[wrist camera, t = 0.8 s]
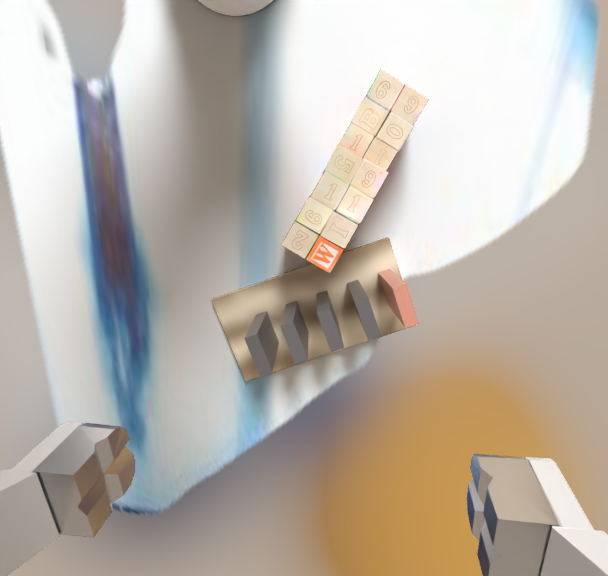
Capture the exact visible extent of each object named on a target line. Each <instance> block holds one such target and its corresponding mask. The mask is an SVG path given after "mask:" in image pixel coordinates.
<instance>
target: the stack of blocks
mask: <svg viewBox="0 0 608 576" xmlns="http://www.w3.org/2000/svg"><path fill="white" fill-rule="evenodd" d="M428 100H429V99H428V98H426V97H425V96H423V95H422V94H420V93H418V92H417V91H415V90H414V89H412V88H411V87H409V86H408V85H404V84H403V83H402V82H400V81H399V80H397V79H396V78H394V77H392V76H391V75H389V74H388V73H386V72H385V71H383V70H380V72H379V73H378V75H377V77H376V79H375V81H374V83H373V84H372V86H371V88H370V90H369V92H368V94H367V95H366V97H365V98H364V100H363V102H362V103H361V105H360V107H359V109H358V111H357V112H356V114H355V116H354V118H353V120H352V121H351V123H350V125H349V127H348V128H347V130H346V132H345V134H344V136H343V138H342V140H341V141H340V143H339V144H338V146H337V148H336V150H335V152H334V153H333V155H332V157H331V159H330V161H329V163H328V164H327V166H326V168H325V170H324V172H323V175H322V177H321V178H320V180H319V182H318V184H317V185H316V187H315V189H314V191H313V192H312V194H311V196H309V198H308V200H307V201H306V203H305V205H304V206H303V208H302V210H301V212H300V213H299V215H298V217H297V219H296V220H295V222H294V224H293V225H292V227H291V229H290V231H289V232H288V234H287V236H286V238H285V239H284V241H283V243H282V246H283V247H285V248H287V249H289V250H290V251H292V252H294V253H295V254H297V255H299V256H300V257H302V258H304V259H305V258H306V260H308V261H309V262H311V263H313V264H314V265H316V266H318V267H319V268H321V269H323V270H325V271H327V272H328V273H330V272H331V271H332V269H333V267H334V266H335V264H336V262H337V260H338V259H339V257H340V255H341V254H342V252H343V250H344V249H345V248H346V246H347V244H348V243H349V241H350V239H351V237H352V236H353V234H354V232H355V230H356V228H357V227H358V224H360V223H361V221H362V220H363V218H364V216H365V214H366V213H367V211H368V209H369V207H370V206H371V204H372V202H373V200H374V198H375V196H376V194H377V193H378V191H379V189H380V187H381V186H382V184H383V182H384V180H385V179H386V177H387V175H388V172H387V169H388V167H389V166H390V164H391V162H392V161H393V159H394V157H395V156H396V154H397V152H398V151H400V149H401V147H402V146H403V144H404V143H405V141H406V139H407V138H408V136H409V134H410V132H411V131H412V129H413V127H414V123H415V122H416V120H417V119H418V117H419V115H420V114H421V112H422V110H423V108H424V107H425V105H426V103H427V102H428Z"/></svg>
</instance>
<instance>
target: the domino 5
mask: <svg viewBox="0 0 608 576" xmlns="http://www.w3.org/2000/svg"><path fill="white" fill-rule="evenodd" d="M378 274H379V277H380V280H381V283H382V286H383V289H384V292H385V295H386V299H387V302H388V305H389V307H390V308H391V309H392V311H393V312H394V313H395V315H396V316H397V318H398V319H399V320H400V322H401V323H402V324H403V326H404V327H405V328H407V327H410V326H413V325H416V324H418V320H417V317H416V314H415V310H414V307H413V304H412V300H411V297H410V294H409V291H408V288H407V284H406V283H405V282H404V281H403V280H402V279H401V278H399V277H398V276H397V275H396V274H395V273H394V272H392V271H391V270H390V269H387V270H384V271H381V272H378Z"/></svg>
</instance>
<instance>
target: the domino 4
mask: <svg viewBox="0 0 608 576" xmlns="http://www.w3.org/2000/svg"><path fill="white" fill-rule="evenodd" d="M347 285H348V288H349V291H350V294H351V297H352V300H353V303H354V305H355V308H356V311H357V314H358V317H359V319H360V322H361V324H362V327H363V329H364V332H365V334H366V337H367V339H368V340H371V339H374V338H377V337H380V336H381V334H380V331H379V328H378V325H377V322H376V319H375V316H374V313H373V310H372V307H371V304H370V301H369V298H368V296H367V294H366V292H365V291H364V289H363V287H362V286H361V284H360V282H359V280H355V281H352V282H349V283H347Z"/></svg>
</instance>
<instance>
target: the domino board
mask: <svg viewBox="0 0 608 576" xmlns="http://www.w3.org/2000/svg"><path fill="white" fill-rule="evenodd" d="M387 269H390V270H391V271H392V272H394V273H395V274H396V275H397V276H398V277H399V278H401V275H400V272H399V268H398V265H397V262H396V259H395V256H394V252H393V249H392V246H391V243H390V240H389V238H388V237H387V238H384V239H381V240H378V241H376V242H373V243H370V244H367V245H364V246H361V247H358V248H356V249H353V250H350V251H347V252H344V253H342V254H341V255H340V257H339V259H338V260H337V262H336V264H335V266H334V267H333V269H332V271H331V272H330V273H328V272H327V271H325V270H323V269H321V268H319V267H318V266H316V265H314V264H310V265H307V266H304V267H302V268H299V269H296V270H293V271H290V272H287V273H285V274H282V275H279V276H276V277H273V278H270V279H268V280H265V281H262V282H259V283H256V284H253V285H250V286H248V287H245V288H242V289H239V290H236V291H233V292H231V293H228V294H225V295H222V296H219V297H216V298H214V299H213V300H212V303H213V305H214V307H215V310H216V312H217V315H218V317H219V319H220V322H221V324H222V327H223V329H224V331H225V334H226V336H227V338H228V341H229V343H230V346H231V348H232V350H233V353H234V355H235V358H236V360H237V362H238V365H239V367H240V369H241V372H242V374H243V377H244V379H245V381H248V380H251V379H254V378H257V377H260V376H259V373H258V371H257V368H256V366H255V363H254V361H253V358H252V356H251V354H250V351H249V349H248V346H247V344H246V341H245V339H244V338H245V336H246V334H247V332H248V330H249V328H250V326H251V324H252V322H253V320H254V318H255V316H256V314H259V313H262V312H265V311H267V313H268V315H269V318H270V320H271V323H272V326H273V328H274V331H275V333H276V336H277V338H278V341H279V345H278V349H277V354H276V358H275V362H274V366H273V371H272V372H275V371H278V370H281V369H284V368H287V367H291V366H294V365H297V364H300V363H297V364H295V363H294V360H293V358H292V355H291V352H290V350H289V347H288V345H287V342H286V340H285V337H284V334H283V332H282V329H281V327H280V325H281V322H282V318H283V314H284V310H285V306H286V304H288V303H291V302H294V301H297V303H298V305H299V308H300V311H301V313H302V316H303V319H304V321H305V324H306V327H307V330H308V332H309V338H308V360H307V361H309V360H312V359H315V358H318V357H321V356H324V355H327V354H330V353H333V352H331V351H330V348H329V345H328V342H327V340H326V337H325V334H324V331H323V329H322V326H321V323H320V320H319V318H318V315H317V301H316V294H317V293H320V292H323V291H326V290H327V291H328V294H329V297H330V300H331V303H332V305H333V308H334V311H335V314H336V317H337V319H338V322H339V327H340V331H341V336H342V341H343V345H344V348H343V349H345V348H348V347H351V346H354V345H358V344H361V343H364V342H367V341H370V340H368V339H367V337H366V334H365V332H364V329H363V327H362V324H361V322H360V319H359V317H358V314H357V311H356V308H355V305H354V303H353V300H352V297H351V294H350V291H349V288H348V285H347V283H349V282H352V281H355V280H359V282H360V284H361V286H362V287H363V289H364V291H365V292H366V294H367V296H368V298H369V301H370V304H371V307H372V310H373V313H374V316H375V319H376V322H377V325H378V328H379V331H380V334H381V336H380V337H382V336H385V335H387V334H391V333H394V332H397V331H400V330H403V329H406V328H405V327H404V326H403V324H402V323H401V322H400V320H399V319H398V318H397V316H396V315H395V313H394V312H393V311H392V309H391V308H390V307H389V305H388V302H387V299H386V295H385V292H384V289H383V286H382V283H381V280H380V277H379V274H378V272H381V271H384V270H387ZM401 279H402V278H401ZM413 326H415V325H413ZM410 327H412V326H410ZM407 328H409V327H407ZM377 338H379V337H377ZM374 339H376V338H374ZM371 340H373V339H371ZM340 350H342V349H340ZM337 351H339V350H337ZM334 352H336V351H334ZM304 362H306V361H304ZM301 363H303V362H301ZM272 372H270V373H272ZM267 374H269V373H267ZM264 375H266V374H264ZM261 376H263V375H261Z"/></svg>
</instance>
